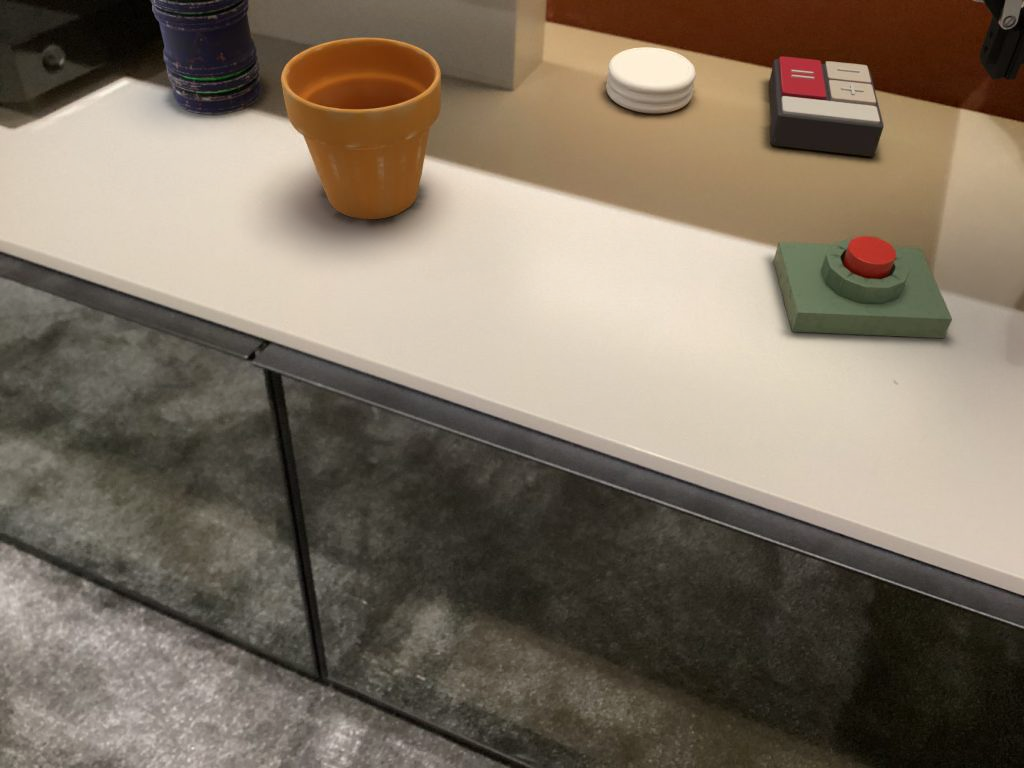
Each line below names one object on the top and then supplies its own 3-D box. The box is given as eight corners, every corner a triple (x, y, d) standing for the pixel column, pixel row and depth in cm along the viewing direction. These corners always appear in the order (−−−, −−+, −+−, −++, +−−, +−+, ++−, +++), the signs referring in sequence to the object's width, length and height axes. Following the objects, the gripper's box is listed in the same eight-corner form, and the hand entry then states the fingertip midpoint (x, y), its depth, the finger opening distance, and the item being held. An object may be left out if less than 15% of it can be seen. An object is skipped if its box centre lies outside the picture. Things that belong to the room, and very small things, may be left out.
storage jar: (252, 66, 114) (230, -65, 103) (272, 105, 107) (251, -31, 97) (166, 80, 111) (133, -54, 100) (181, 121, 104) (149, -17, 94)
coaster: (696, 117, 108) (702, 88, 106) (608, 114, 108) (611, 85, 106) (686, 74, 115) (690, 46, 113) (603, 72, 115) (606, 44, 113)
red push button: (883, 253, 85) (889, 236, 84) (895, 281, 82) (901, 265, 81) (838, 251, 85) (843, 235, 84) (848, 279, 82) (854, 263, 81)
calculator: (871, 61, 111) (886, 120, 100) (861, 97, 114) (874, 157, 103) (775, 51, 112) (779, 108, 101) (767, 86, 115) (770, 145, 104)
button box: (912, 266, 90) (927, 231, 87) (943, 338, 82) (960, 302, 80) (773, 260, 90) (783, 225, 87) (792, 331, 83) (803, 295, 80)
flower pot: (269, 200, 94) (246, 75, 85) (369, 141, 102) (359, 22, 93) (375, 255, 88) (363, 128, 79) (472, 189, 97) (472, 67, 87)
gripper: (1001, -179, 60) (913, 94, 73) (1245, -177, 59) (1113, 96, 72) (964, -211, 65) (888, 48, 78) (1187, -209, 65) (1074, 50, 78)
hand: (997, 71), depth 75 cm, fingers closed
